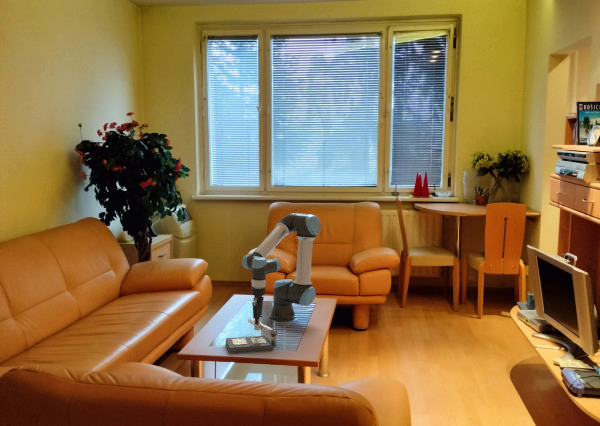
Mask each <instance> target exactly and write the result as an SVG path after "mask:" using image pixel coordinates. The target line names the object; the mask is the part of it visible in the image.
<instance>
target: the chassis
mask: <svg viewBox="0 0 600 426" xmlns="http://www.w3.org/2000/svg"><path fill="white" fill-rule="evenodd" d="M270 336H271V335H270ZM225 345H226V348H227V351H228V352H229V354H241V353H243V354H244V353H256V352H271V351H272V350H274V347H276V345H277V335H276V336H271V339H270V338H269V336H268V335H256V336H255V335H254V336H242V337H241V336H240V337H239V336H238V337H226V338H225Z"/></svg>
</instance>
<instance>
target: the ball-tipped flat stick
mask: <svg viewBox="0 0 600 426" xmlns="http://www.w3.org/2000/svg"><path fill="white" fill-rule="evenodd" d="M247 322H248V323H249V324H251V325H252V326H254V324H255V318H253V317H250V318H248V319H247ZM260 330H263V331H265V332H266V333H268V334H270V336H276V337H277V335H278V329H277V328H272V327H270V326H268V325H266V324H263V323H262V322H260Z"/></svg>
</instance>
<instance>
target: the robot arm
mask: <svg viewBox="0 0 600 426" xmlns="http://www.w3.org/2000/svg"><path fill="white" fill-rule="evenodd" d="M321 225H322V224H321V220H320V218H319V217H318V216H317V215H315V214H310V213H300V212H292V213H288V214H287V215H285V216H284V217H282V218H281V219H280V220H279V221H278V222H277V223H276V224H275V227H274V228H273V229H272V230H271V232H270V233H269V234H268V235H267V236H266V237H265V239H264V240H263V241H262V242H261V243H260V244H259V245H258V246H257V247H256V249H255V250H254V251H253V252H252V253H251V254H246V255H244V256H243V257H242V259H241V265H242V267H243V268H245V269H247V270H251V280H250V282H251V288H250V289H251V290H250V291H251V295H253V296H254V297H253V301H252V303H251V304H252V319H254V320H255V324H254V325H253V326H254V327H253V329H254V331H260V330H261V329H260V323H261V318H263V316H262V315H263V308H264V307H263V305H264V299H265V297H264V296H265V295H266V284H267V275H269V274H273V273H276V272H279V270H281V268H282V263H281V260H280V259H279V258H277V257H276V258H275V257H272V258H268V256H269V254H271V253H272V252H273V250H274V249H275V248H276V247H277V246H278V245H279V244H280V242H281V241H282V240H283V239H284V237H287V236H288V235H289V234H291V233H296V238H297V239H298V241H297V242H298V245H297V254H296V255H297V257H296V270H295V271H296V273H295V279H294V280H293V279H288V278H287V279H286V278H285V279H278V280H276V281H274V282H273V293H272V294H273V296H272V297H273V298H272V299H273V302H272V303H273V305H272V308H271V310H270V312H269V318H270V319H272V320H274V321H284V320H287V321H290V320H289V319H292V318H293V317H294V316H296V314H295V311H294V307H293V304H295V305H298V306H299V305H300V306H305V307H307V306H310V305H311V304H312V303H313V302H314V300H315V297H316V293H317V292H316V288H315V287H314V286H313V282H312V281H311V271H312V257H313V245H314V244H313V243H314V240H315V239H316V238H317V236H318V235H319V233H320V231H321ZM292 320H293V319H292Z"/></svg>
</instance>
